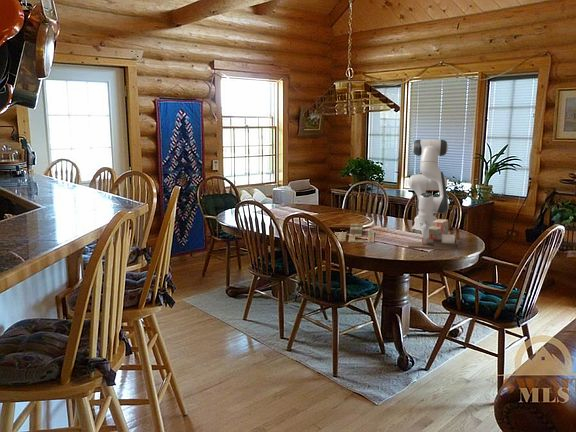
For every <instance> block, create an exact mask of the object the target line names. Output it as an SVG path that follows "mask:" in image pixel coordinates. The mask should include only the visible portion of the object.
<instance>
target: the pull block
mask: <svg viewBox="0 0 576 432" xmlns="http://www.w3.org/2000/svg"><path fill="white" fill-rule="evenodd" d="M455 238H456V236H455V234H448V235H446V234H442V243H455ZM421 242H422V245H427V244H434V242H427V240H426V243H423V237H422V236H421Z"/></svg>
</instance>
